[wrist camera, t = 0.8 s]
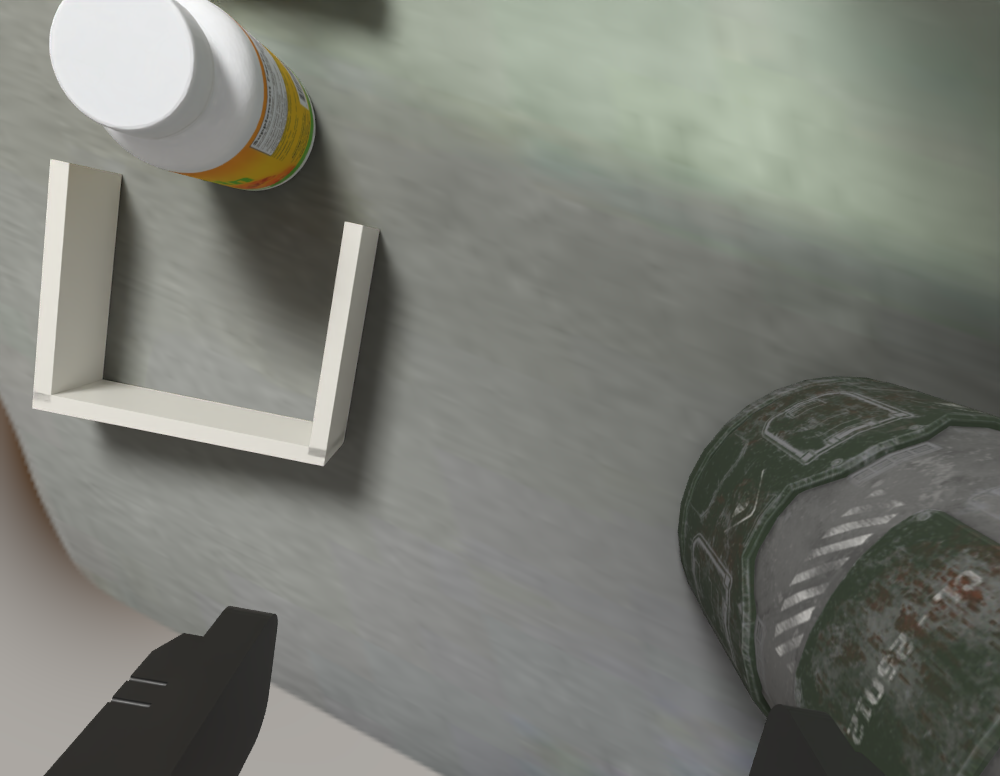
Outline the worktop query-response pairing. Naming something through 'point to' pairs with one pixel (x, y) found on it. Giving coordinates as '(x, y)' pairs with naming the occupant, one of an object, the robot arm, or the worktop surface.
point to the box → (83, 393)
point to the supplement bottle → (184, 89)
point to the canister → (858, 566)
